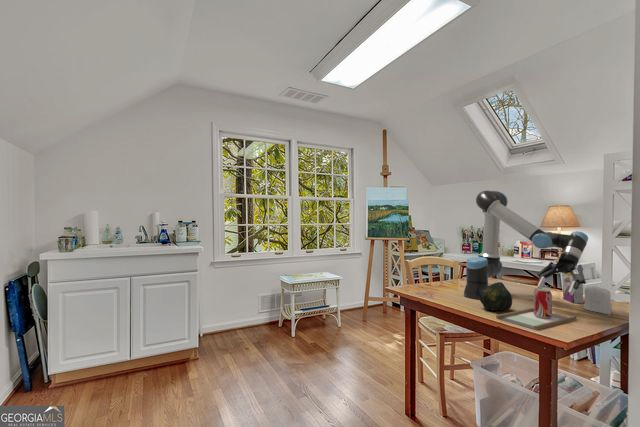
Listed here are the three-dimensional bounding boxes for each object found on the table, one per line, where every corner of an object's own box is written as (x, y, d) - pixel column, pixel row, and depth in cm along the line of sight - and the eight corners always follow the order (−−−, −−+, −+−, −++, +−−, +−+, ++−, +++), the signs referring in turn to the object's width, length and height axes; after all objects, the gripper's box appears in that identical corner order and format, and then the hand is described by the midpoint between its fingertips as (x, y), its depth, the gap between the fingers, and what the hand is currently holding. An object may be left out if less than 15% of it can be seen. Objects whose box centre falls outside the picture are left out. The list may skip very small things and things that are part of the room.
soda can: (530, 314, 153) (529, 288, 154) (545, 314, 153) (544, 288, 153) (540, 319, 146) (539, 291, 147) (556, 319, 146) (555, 291, 146)
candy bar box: (562, 298, 185) (561, 270, 186) (571, 299, 184) (571, 270, 185) (573, 303, 174) (572, 273, 175) (583, 303, 173) (583, 274, 174)
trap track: (496, 318, 149) (496, 315, 149) (535, 309, 162) (535, 307, 162) (536, 330, 132) (536, 326, 132) (576, 319, 146) (576, 316, 146)
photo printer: (612, 314, 154) (612, 288, 155) (608, 315, 153) (607, 289, 153) (587, 308, 164) (587, 284, 164) (583, 309, 162) (582, 285, 162)
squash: (469, 297, 167) (488, 278, 160) (483, 294, 176) (502, 276, 169) (490, 320, 158) (511, 301, 151) (503, 316, 167) (524, 298, 160)
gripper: (603, 265, 149) (588, 301, 142) (546, 259, 172) (530, 290, 165) (597, 254, 147) (581, 290, 140) (540, 250, 169) (524, 281, 162)
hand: (554, 290), depth 152 cm, fingers open, 13 cm apart
